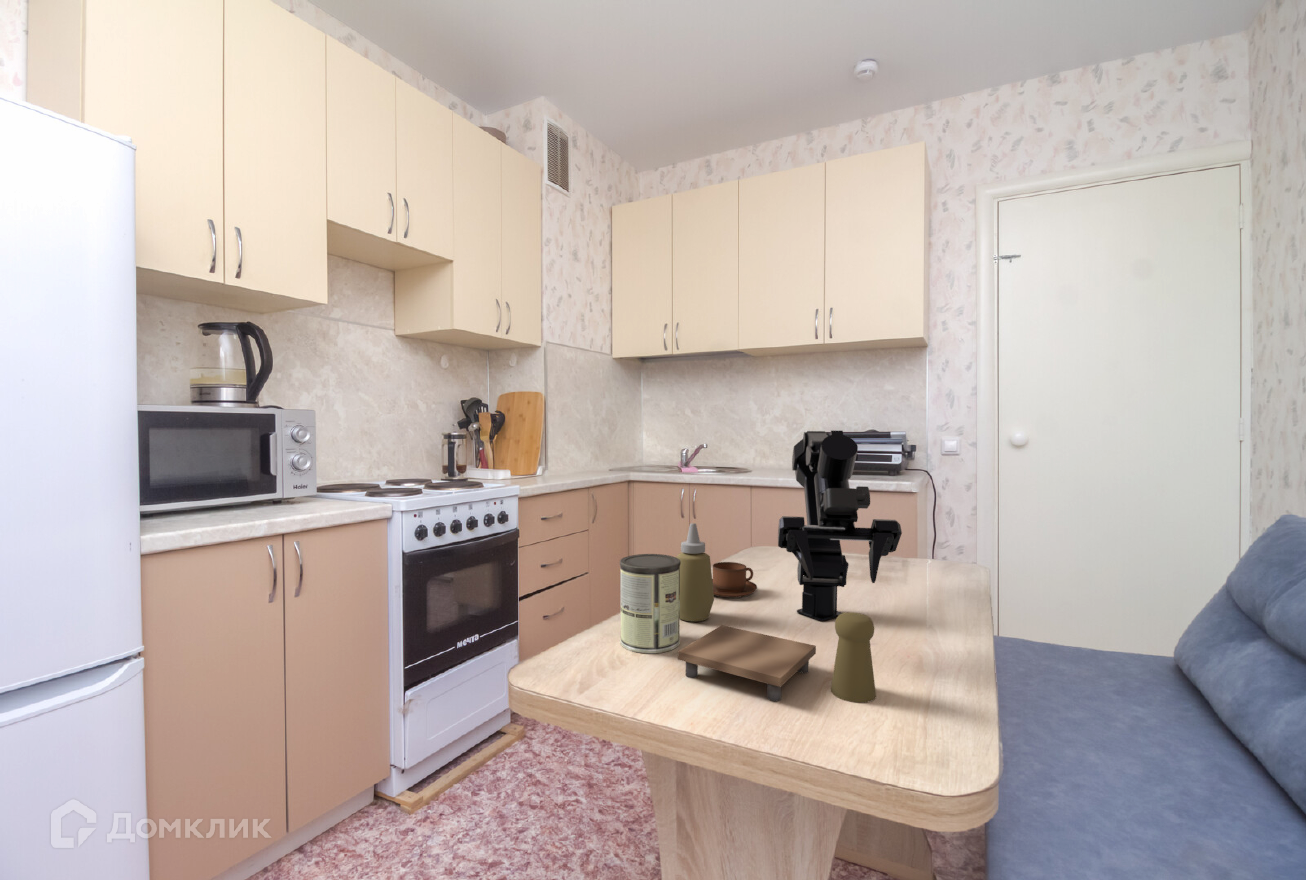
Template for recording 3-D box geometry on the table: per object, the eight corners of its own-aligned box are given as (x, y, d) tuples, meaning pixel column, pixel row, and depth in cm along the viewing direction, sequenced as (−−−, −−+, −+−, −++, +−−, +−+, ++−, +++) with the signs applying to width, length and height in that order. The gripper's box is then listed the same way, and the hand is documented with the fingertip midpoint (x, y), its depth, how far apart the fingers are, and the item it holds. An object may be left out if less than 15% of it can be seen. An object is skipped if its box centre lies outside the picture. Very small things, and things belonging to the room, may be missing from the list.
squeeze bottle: (669, 611, 119) (669, 520, 119) (710, 610, 120) (710, 520, 120) (674, 625, 111) (674, 527, 111) (717, 623, 112) (717, 527, 112)
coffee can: (632, 628, 109) (632, 551, 109) (687, 635, 106) (687, 556, 106) (609, 649, 100) (610, 564, 99) (669, 657, 96) (670, 570, 96)
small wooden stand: (677, 676, 89) (677, 651, 89) (721, 646, 101) (721, 625, 101) (780, 705, 80) (780, 678, 80) (815, 669, 92) (815, 645, 92)
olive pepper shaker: (869, 684, 87) (871, 608, 87) (881, 703, 81) (883, 622, 81) (826, 682, 88) (828, 607, 87) (835, 701, 82) (836, 621, 81)
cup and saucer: (724, 583, 141) (725, 557, 141) (767, 594, 132) (768, 566, 132) (690, 593, 133) (690, 565, 132) (733, 605, 124) (734, 575, 124)
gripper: (780, 467, 98) (783, 549, 88) (900, 469, 96) (918, 554, 85) (776, 508, 107) (779, 587, 96) (887, 511, 104) (902, 593, 93)
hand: (842, 580), depth 92 cm, fingers open, 9 cm apart
